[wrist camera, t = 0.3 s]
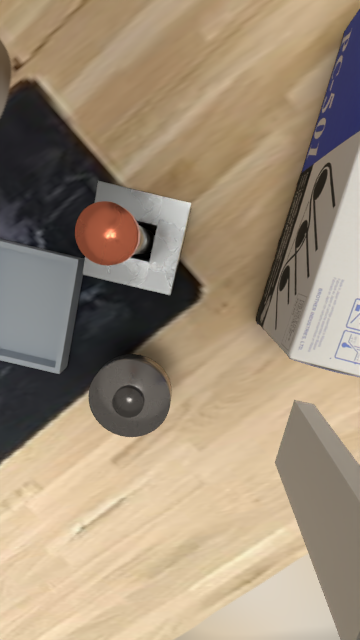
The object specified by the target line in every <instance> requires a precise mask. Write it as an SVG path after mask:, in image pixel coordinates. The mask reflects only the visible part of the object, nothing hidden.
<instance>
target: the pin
mask: <svg viewBox="0 0 360 640" xmlns="http://www.w3.org/2000/svg"><path fill="white" fill-rule="evenodd" d="M75 238H76V242H77V245H78V247H79V249H80V251H81V252H82V253H83V255H84V256H85V257H86V258H88V259H89V260H90V261H92V262H94V263H96V264H100V265H115V264H120V263H123V262H125V261H127V260H128V259H130V258H131V257H132V256H133V255H134V254H146V253H148V252H150V251H151V250H152V248H153V243H154V238H155V237H154V235H153V233H152V232H151V231H150V230H148V229H146V228H144V227H142V226H140V225H138V223H137V221H136V219H135V218H134V216H133V215H132V214H131V213H130V212H129V211H128V210H126V209H125V208H123V207H122V206H120V205H118V204H116V203H113V202H108V201H102V202H96V203H94V204H91V205H90V206H88V207H87V208H85V209H84V210H83V211H82V213H81V214H80V216H79V217H78V219H77V222H76V226H75Z"/></svg>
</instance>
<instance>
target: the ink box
mask: <svg viewBox="0 0 360 640" xmlns="http://www.w3.org/2000/svg"><path fill="white" fill-rule="evenodd" d="M256 321H257V324H259V325H260V326H261V327H262V328H263V329H264V330H265V331H266V332H267V334H268V335H269V336H270V337H271V338H272V339H273V340H274V341H275V342H276V343H277V344H278V345H279V347H280V348H281V349H282V350H283V351H284V352H285V353H286V354H287V355H288V357H289V358H290V359H292V360H295V361H298V362H301V363H305V364H308V365H311V366H315V367H319V368H322V369H326V370H329V371H333V372H337V373H342V374H346V375H351V376H356V377H360V9H359V11H358V12H357V14H356V15H355V17H354V18H353V19H352V21H351V22H350V24H349V25H348V27H347V28H346V30H345V31H344V36H343V39H342V43H341V46H340V49H339V53H338V56H337V59H336V62H335V66H334V69H333V72H332V75H331V79H330V82H329V85H328V88H327V92H326V95H325V98H324V101H323V105H322V108H321V111H320V114H319V118H318V121H317V124H316V127H315V131H314V134H313V137H312V140H311V144H310V147H309V150H308V153H307V156H306V160H305V163H304V166H303V170H302V173H301V175H300V179H299V181H298V184H297V189H296V192H295V196H294V199H293V202H292V205H291V208H290V211H289V214H288V217H287V220H286V223H285V226H284V229H283V233H282V236H281V238H280V240H279V244H278V249H277V253H276V257H275V260H274V263H273V266H272V270H271V273H270V276H269V279H268V281H267V285H266V289H265V292H264V296H263V299H262V301H261V304H260V307H259V310H258V314H257V317H256Z"/></svg>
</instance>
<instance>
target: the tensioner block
mask: <svg viewBox="0 0 360 640" xmlns="http://www.w3.org/2000/svg"><path fill="white" fill-rule="evenodd" d="M102 201H108V202H113V203H116V204H118V205H120V206H122V207H123V208H125V209H126V210H128V211H129V212H130V213H131V214H132V215H133V216H134V218H135V219H136V221H137V223H140V224H145V225H149V226H153V227H157V229H156V234H155V238H154V243H153V248H152V252H151V257H150V259H145V258H141V257H137V256H132V257H131V258H130V259H128V260H127V261H125V262H123V263H120V264H115V265H100V264H96V263H94V262H92V261H90V260H89V259H88V258H86V257H85V261H84V267H83V273H82V274H83V275H87V276H91V277H96V278H100V279H104V280H108V281H113V282H117V283H121V284H125V285H129V286H134V287H138V288H142V289H146V290H151V291H155V292H159V293H163V294H167V295H170V294H171V292H172V290H173V287H174V283H175V278H176V274H177V270H178V265H179V261H180V257H181V252H182V248H183V243H184V239H185V235H186V230H187V226H188V222H189V217H190V213H191V203H188V202H184V201H180V200H176V199H172V198H167V197H163V196H159V195H155V194H151V193H147V192H142V191H138V190H134V189H130V188H126V187H122V186H117V185H113V184H109V183H105V182H101V181H98V186H97V192H96V198H95V203H96V202H102Z"/></svg>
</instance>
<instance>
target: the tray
mask: <svg viewBox="0 0 360 640" xmlns="http://www.w3.org/2000/svg"><path fill="white" fill-rule="evenodd" d="M84 261H85V259H84V258H80V257H75V256H71V255H67V254H63V253H58V252H54V251H50V250H46V249H42V248H37V247H33V246H29V245H25V244H21V243H16V242H12V241H8V240H4V239H0V360H2V361H6V362H10V363H14V364H19V365H23V366H27V367H32V368H36V369H40V370H44V371H49V372H53V373H57V374H60V373H61V372H62V371H63V370H64V369H65V368H66V367H67V365H68V359H69V353H70V347H71V342H72V336H73V330H74V324H75V319H76V313H77V307H78V301H79V295H80V290H81V284H82V278H83V274H82V273H83V267H84Z"/></svg>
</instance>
